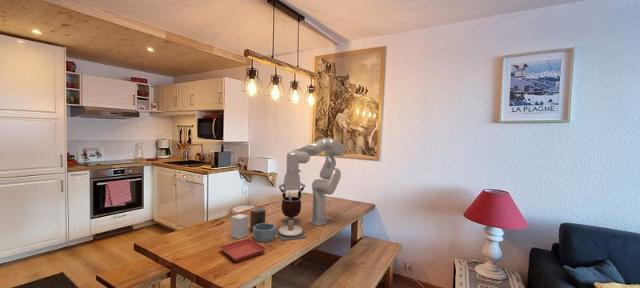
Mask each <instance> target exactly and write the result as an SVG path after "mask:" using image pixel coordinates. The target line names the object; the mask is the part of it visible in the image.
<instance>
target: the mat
mask: <svg viewBox="0 0 640 288" xmlns="http://www.w3.org/2000/svg"><path fill="white" fill-rule="evenodd" d="M279 228H280V227H276V235H277V236H278V239H280V242H283V241H284V242H285V241H286V242H287V241H293V240H301V239H308V237H307V236H306V234H305V233H304V232H303V231H302V233H301V234H299V235H296V236H284V235H281V234H280V233H279Z"/></svg>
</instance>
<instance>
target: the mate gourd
mask: <svg viewBox="0 0 640 288" xmlns="http://www.w3.org/2000/svg"><path fill="white" fill-rule="evenodd" d="M301 210H302V200H301V198H300V199H299V198H298V196H292V194H291V193H290V191H289V192H288V196H286V199H285V200H284V199H283V198H282V201H281V213H282V214H283V215H284V217H287V218H284V219H283V220H282V225H284V226H288V220H290V219H291V220H294V226H297V225H299V224H300V220H299V219H297V218H296V217H298V216H299V214H300V213H301ZM294 217H295V218H294Z"/></svg>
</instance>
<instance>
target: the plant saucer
mask: <svg viewBox="0 0 640 288" xmlns="http://www.w3.org/2000/svg"><path fill="white" fill-rule="evenodd" d="M219 249H220V250H221V251H222V252H223V253H225V254H226V255H227V256H228V257H229V258H231V259H232V260H233V261H235V262H241V261H244V260H246V259H250V258H253V257H256V256H258V255H261V254H262V253H263V252H264V251H265V250H266V247H264V246H263V245H262V244H260V243H259V242H257V241H255V240H254V239H251V238H245V239H242V240H238V241H234V242H231V243H229V244H224V245H221V246H219Z"/></svg>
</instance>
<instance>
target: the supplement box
mask: <svg viewBox="0 0 640 288" xmlns="http://www.w3.org/2000/svg"><path fill="white" fill-rule="evenodd" d="M230 219H231V220H230V221H231V222H230V237H231V238H234V239H237V240H240V239H243V238H245V237H247V236H248V235H249V233H248V232H249V231H248V230H249V215H247V214H242V213H238V214H236V215H232V216H231V217H230Z"/></svg>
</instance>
